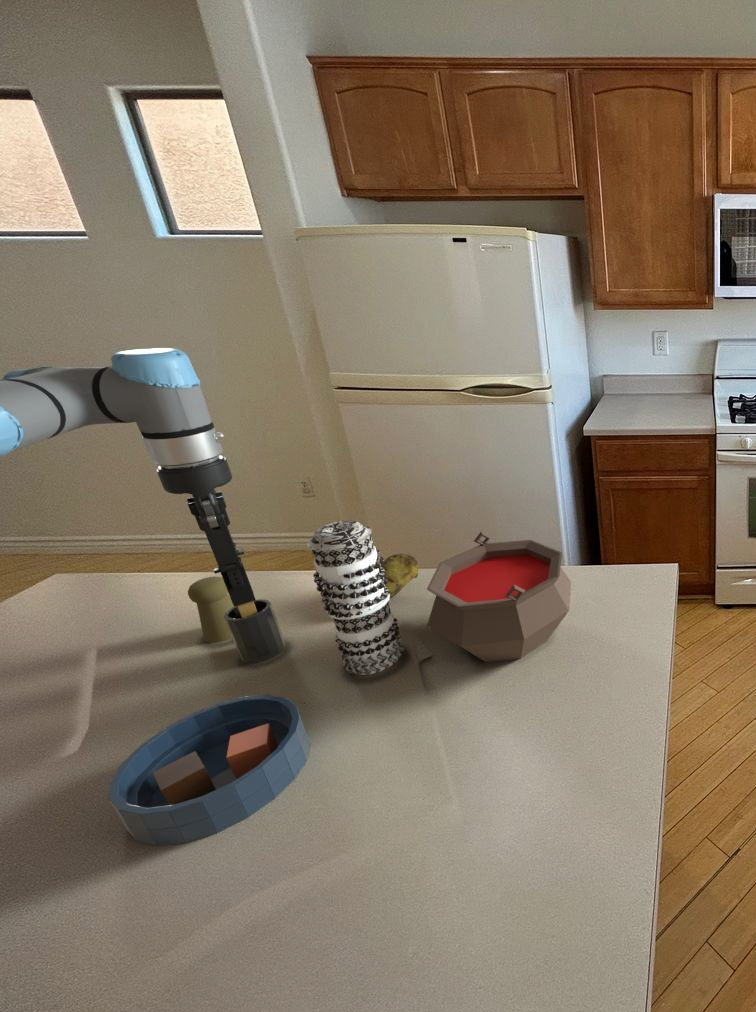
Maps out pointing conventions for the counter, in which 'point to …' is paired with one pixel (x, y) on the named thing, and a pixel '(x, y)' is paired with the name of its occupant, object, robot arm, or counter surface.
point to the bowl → (209, 771)
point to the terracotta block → (250, 749)
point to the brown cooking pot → (500, 598)
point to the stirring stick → (247, 609)
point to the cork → (212, 607)
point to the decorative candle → (356, 596)
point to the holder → (256, 633)
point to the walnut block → (184, 779)
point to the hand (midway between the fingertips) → (243, 598)
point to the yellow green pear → (399, 571)
